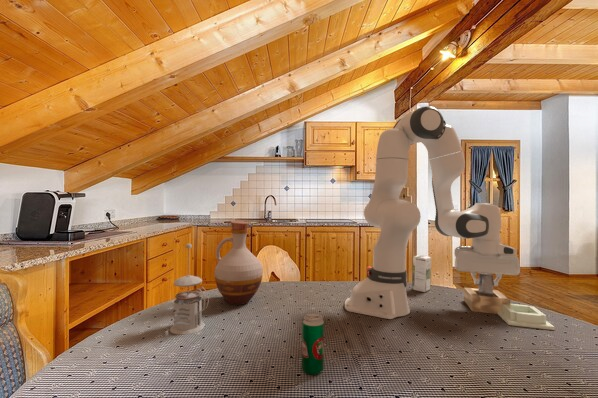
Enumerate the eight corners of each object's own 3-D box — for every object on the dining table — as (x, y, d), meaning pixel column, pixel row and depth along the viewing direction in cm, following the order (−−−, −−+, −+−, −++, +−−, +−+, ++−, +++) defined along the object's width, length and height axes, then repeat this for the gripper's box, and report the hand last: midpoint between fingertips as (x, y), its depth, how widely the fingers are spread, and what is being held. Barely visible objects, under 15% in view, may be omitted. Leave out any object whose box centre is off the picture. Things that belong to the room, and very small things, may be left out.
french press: (185, 318, 94) (186, 240, 94) (216, 324, 90) (217, 242, 90) (162, 331, 85) (163, 244, 85) (195, 338, 81) (196, 247, 81)
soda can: (300, 363, 69) (301, 312, 69) (321, 363, 69) (322, 312, 69) (302, 376, 64) (303, 321, 64) (325, 376, 64) (326, 321, 64)
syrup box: (417, 286, 131) (417, 254, 131) (431, 289, 127) (431, 256, 127) (412, 289, 127) (412, 256, 127) (425, 292, 123) (426, 258, 123)
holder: (508, 324, 92) (508, 313, 92) (494, 310, 104) (494, 301, 104) (554, 330, 89) (554, 318, 89) (534, 315, 100) (535, 304, 100)
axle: (480, 308, 105) (480, 275, 105) (476, 304, 110) (477, 272, 110) (494, 310, 104) (495, 276, 104) (490, 305, 109) (490, 273, 109)
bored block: (472, 311, 103) (472, 296, 103) (463, 300, 114) (463, 287, 114) (510, 315, 100) (510, 300, 100) (497, 303, 111) (497, 290, 111)
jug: (199, 304, 106) (200, 221, 106) (229, 290, 123) (230, 218, 123) (245, 313, 99) (246, 224, 99) (270, 297, 115) (271, 220, 115)
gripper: (456, 246, 107) (456, 284, 107) (522, 250, 101) (522, 290, 101) (452, 244, 113) (452, 280, 113) (514, 247, 107) (514, 285, 107)
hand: (485, 285), depth 107 cm, fingers closed on axle, 4 cm apart
